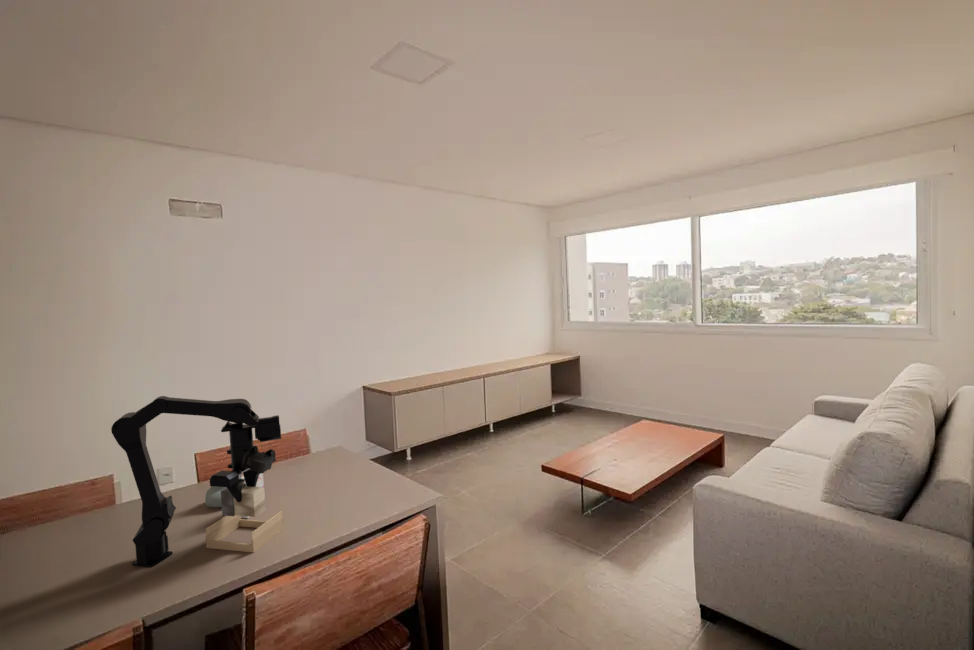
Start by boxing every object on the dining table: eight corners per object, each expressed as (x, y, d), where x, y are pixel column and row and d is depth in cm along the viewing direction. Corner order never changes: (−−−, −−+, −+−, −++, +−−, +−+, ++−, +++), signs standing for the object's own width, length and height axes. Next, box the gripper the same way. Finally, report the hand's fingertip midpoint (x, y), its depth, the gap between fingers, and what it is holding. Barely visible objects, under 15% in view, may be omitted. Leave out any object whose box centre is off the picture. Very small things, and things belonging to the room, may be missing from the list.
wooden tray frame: (253, 552, 125) (252, 532, 124) (206, 547, 128) (205, 528, 127) (283, 529, 137) (282, 510, 137) (239, 525, 140) (238, 507, 140)
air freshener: (233, 508, 152) (231, 478, 151) (204, 513, 149) (202, 483, 148) (238, 495, 162) (236, 467, 161) (211, 499, 159) (209, 471, 158)
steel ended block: (266, 508, 134) (265, 484, 133) (253, 517, 128) (251, 493, 128) (236, 506, 136) (235, 483, 135) (222, 515, 130) (220, 491, 130)
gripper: (242, 457, 120) (246, 515, 121) (287, 435, 138) (291, 486, 139) (206, 455, 122) (210, 512, 123) (255, 434, 140) (258, 484, 141)
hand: (245, 498), depth 131 cm, fingers closed on steel ended block, 4 cm apart
